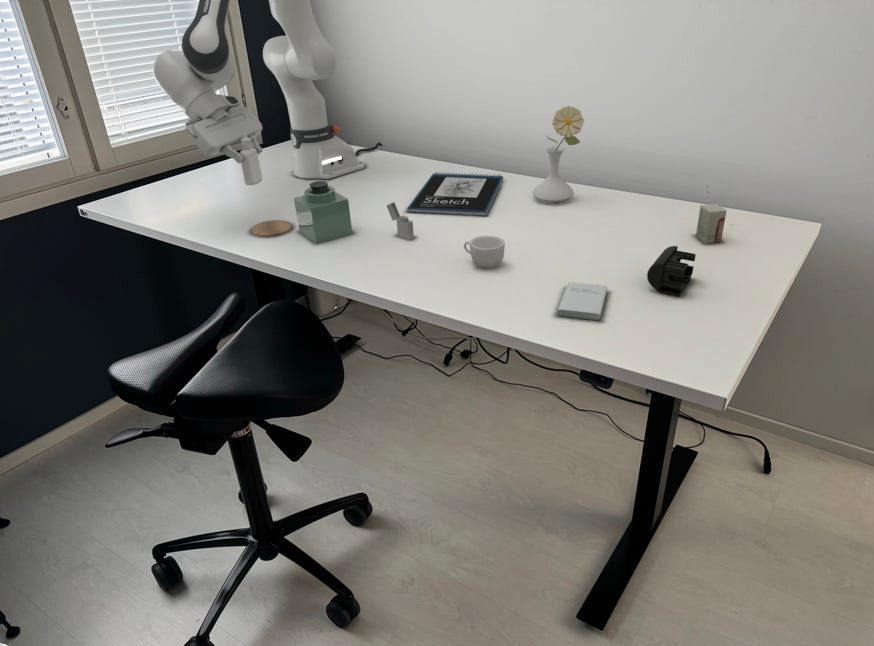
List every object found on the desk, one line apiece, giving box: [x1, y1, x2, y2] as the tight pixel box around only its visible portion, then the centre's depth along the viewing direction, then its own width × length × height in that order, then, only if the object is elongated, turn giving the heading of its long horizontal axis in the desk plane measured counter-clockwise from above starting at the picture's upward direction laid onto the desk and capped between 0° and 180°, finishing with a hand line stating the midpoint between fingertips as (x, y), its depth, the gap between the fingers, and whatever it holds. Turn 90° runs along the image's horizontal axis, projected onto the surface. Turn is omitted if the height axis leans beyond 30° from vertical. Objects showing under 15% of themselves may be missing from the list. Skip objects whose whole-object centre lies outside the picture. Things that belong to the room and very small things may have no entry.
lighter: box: [386, 201, 415, 240], centre depth 166 cm, size 7×2×8 cm, turn 51°
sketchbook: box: [406, 171, 504, 217], centre depth 192 cm, size 22×30×2 cm
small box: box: [695, 203, 728, 244], centre depth 159 cm, size 5×4×8 cm
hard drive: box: [557, 281, 608, 321], centre depth 136 cm, size 2×8×12 cm
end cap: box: [646, 245, 697, 297], centre depth 140 cm, size 10×7×7 cm
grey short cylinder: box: [309, 180, 329, 194], centre depth 165 cm, size 4×4×2 cm
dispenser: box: [293, 185, 353, 244], centre depth 169 cm, size 10×10×11 cm
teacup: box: [463, 235, 506, 269], centre depth 152 cm, size 10×8×5 cm
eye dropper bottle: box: [240, 133, 263, 186], centre depth 166 cm, size 4×6×12 cm
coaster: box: [251, 219, 292, 238], centre depth 174 cm, size 10×10×1 cm
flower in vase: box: [532, 105, 585, 203], centre depth 181 cm, size 13×11×25 cm
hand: (251, 156), depth 166 cm, fingers closed on eye dropper bottle, 5 cm apart
